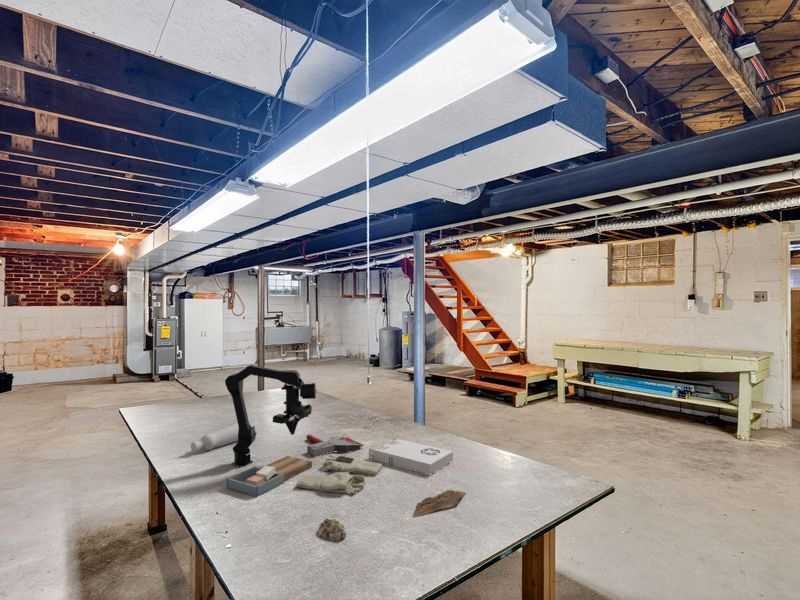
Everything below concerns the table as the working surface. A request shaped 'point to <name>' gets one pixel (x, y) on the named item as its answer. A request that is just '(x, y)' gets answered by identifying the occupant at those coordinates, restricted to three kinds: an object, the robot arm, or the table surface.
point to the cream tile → (266, 472)
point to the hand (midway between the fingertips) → (292, 434)
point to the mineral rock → (332, 530)
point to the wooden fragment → (438, 502)
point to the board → (289, 467)
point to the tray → (241, 486)
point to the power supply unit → (412, 456)
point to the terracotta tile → (256, 480)
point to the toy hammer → (331, 445)
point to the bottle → (217, 438)
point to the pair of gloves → (341, 475)
